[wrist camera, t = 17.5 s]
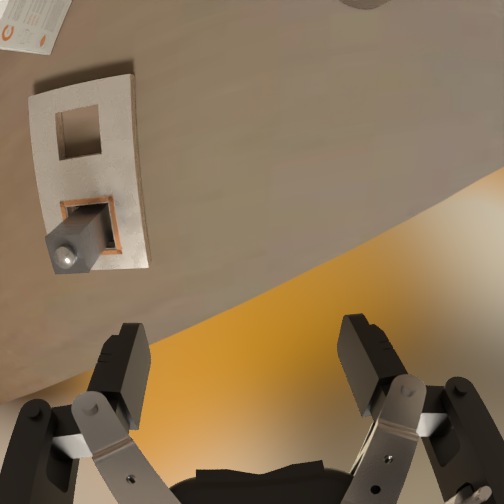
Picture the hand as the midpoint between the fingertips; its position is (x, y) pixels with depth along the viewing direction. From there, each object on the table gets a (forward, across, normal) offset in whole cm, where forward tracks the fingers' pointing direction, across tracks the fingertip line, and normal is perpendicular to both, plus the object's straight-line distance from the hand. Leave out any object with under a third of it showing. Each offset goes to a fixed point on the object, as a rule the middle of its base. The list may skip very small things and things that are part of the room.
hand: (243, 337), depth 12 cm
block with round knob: (+28, +18, +5) cm, 34 cm away
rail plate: (+28, +18, -1) cm, 33 cm away
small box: (+29, +24, -23) cm, 44 cm away
